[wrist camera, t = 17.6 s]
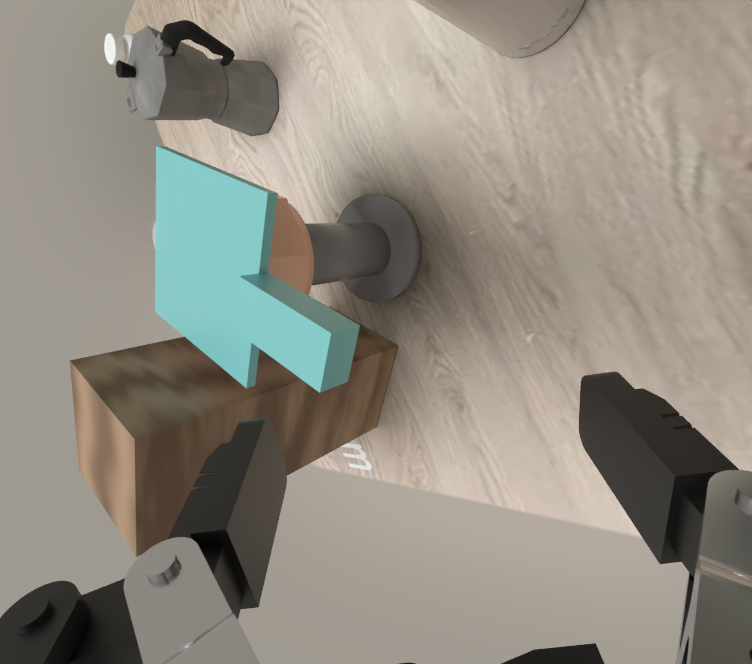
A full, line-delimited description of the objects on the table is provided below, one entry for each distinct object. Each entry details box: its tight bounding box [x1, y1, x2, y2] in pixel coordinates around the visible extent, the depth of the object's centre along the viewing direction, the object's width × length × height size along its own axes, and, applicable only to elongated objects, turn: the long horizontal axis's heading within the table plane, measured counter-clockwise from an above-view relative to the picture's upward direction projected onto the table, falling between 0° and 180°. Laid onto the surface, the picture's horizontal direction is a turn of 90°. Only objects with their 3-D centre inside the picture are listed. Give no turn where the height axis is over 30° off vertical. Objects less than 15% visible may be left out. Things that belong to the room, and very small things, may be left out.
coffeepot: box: [116, 20, 279, 136], centre depth 53 cm, size 15×9×18 cm, turn 112°
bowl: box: [268, 195, 421, 302], centre depth 44 cm, size 12×12×22 cm
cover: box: [155, 146, 360, 393], centre depth 33 cm, size 24×15×2 cm, turn 73°
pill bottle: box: [105, 33, 133, 66], centre depth 69 cm, size 5×5×10 cm
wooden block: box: [70, 307, 398, 557], centre depth 48 cm, size 12×12×30 cm
